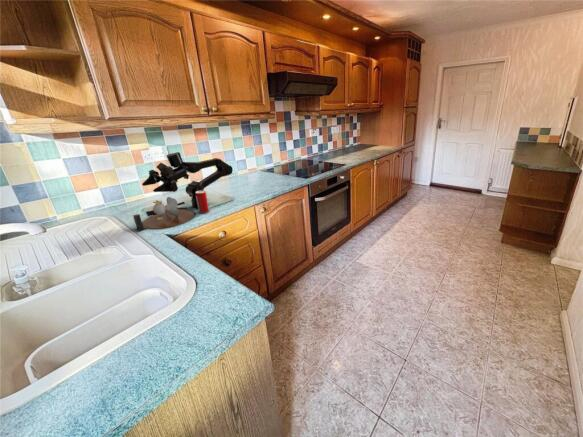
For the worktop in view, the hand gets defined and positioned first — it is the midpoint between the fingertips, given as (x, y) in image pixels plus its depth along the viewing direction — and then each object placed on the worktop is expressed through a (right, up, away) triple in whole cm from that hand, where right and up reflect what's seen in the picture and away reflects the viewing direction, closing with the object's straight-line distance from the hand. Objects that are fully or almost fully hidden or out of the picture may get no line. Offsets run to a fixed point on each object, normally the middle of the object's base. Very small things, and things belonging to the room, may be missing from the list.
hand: (147, 187), depth 126 cm
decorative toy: (+6, -15, +10) cm, 19 cm away
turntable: (+5, -16, +9) cm, 19 cm away
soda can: (+22, -11, +17) cm, 30 cm away
